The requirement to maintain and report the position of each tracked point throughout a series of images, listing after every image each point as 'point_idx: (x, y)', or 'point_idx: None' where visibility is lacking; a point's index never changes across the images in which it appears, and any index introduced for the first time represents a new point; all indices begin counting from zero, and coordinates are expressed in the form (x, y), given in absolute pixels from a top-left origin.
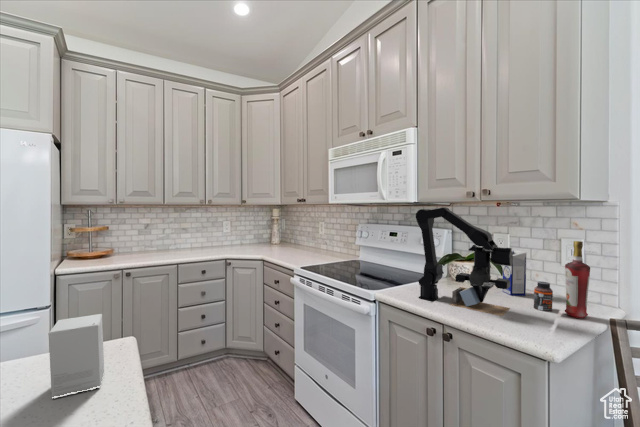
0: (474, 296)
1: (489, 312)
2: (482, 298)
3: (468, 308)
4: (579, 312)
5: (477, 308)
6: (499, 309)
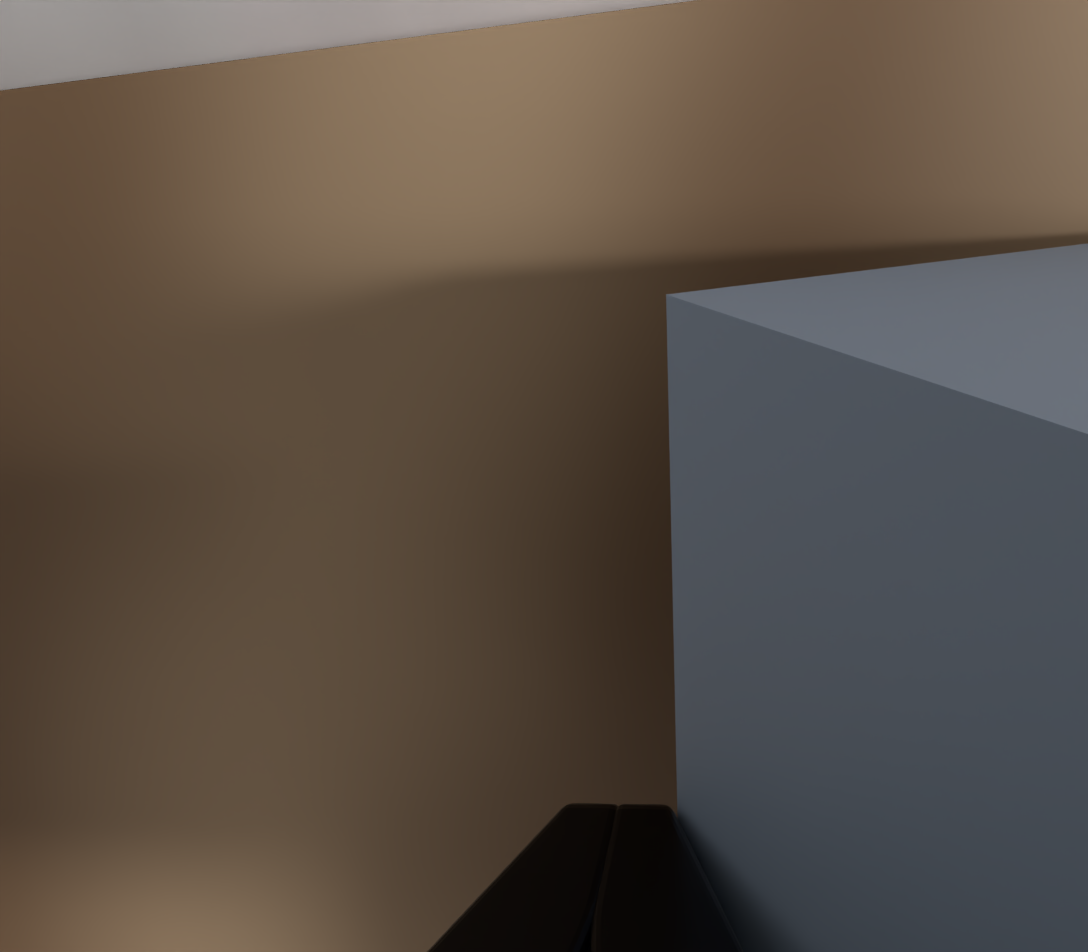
0: (978, 665)
1: (110, 217)
2: (494, 943)
3: (1058, 19)
4: None
5: None
6: (94, 829)
